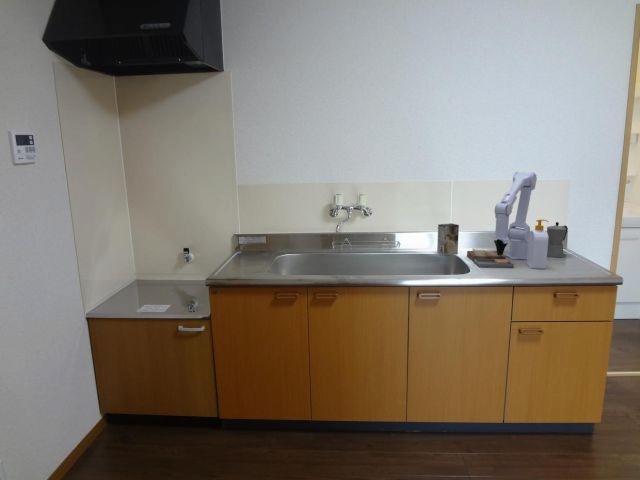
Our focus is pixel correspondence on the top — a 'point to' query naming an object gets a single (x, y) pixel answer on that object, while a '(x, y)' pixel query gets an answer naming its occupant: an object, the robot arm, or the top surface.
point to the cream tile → (478, 251)
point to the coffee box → (447, 239)
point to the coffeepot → (556, 240)
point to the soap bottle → (537, 247)
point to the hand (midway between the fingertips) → (499, 254)
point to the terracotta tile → (500, 261)
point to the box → (491, 264)
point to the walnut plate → (485, 255)
